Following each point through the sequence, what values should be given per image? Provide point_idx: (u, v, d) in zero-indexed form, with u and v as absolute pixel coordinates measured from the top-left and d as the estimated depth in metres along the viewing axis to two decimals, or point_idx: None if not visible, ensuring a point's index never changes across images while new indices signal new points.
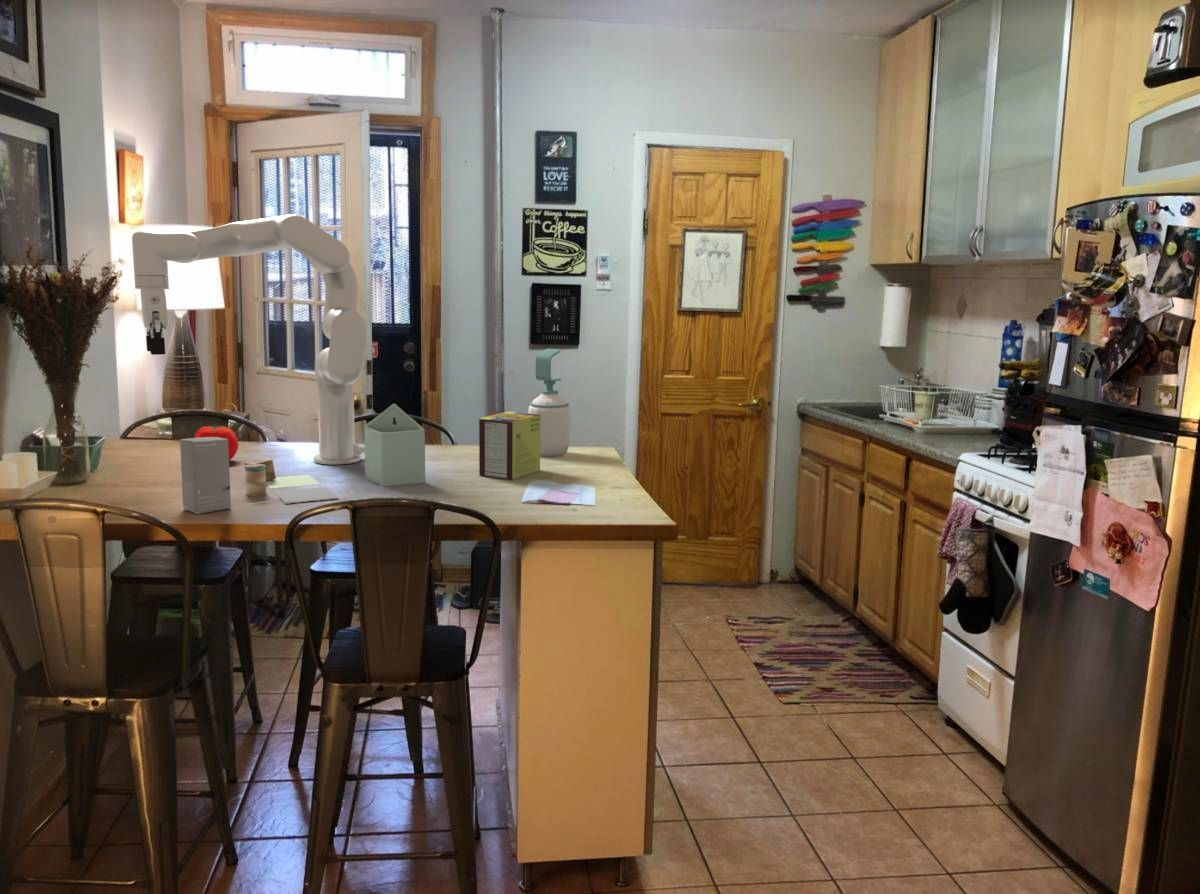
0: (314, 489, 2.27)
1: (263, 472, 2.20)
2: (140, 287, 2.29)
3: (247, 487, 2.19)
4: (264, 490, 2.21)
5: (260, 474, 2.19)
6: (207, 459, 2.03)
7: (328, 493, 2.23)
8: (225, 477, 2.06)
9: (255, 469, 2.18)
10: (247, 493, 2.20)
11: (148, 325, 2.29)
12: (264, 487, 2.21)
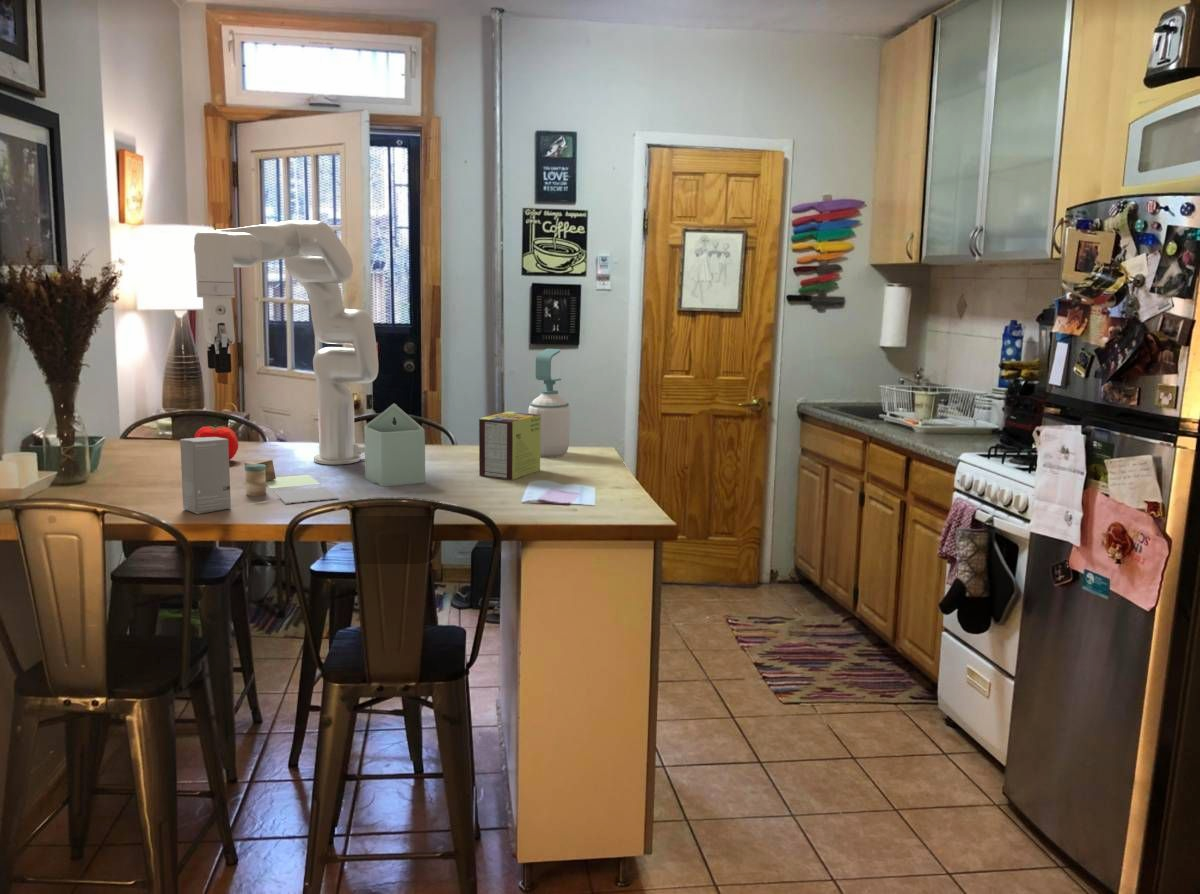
0: (314, 489, 2.27)
1: (263, 472, 2.20)
2: (203, 295, 1.99)
3: (247, 487, 2.19)
4: (264, 490, 2.21)
5: (260, 474, 2.19)
6: (207, 459, 2.03)
7: (328, 493, 2.23)
8: (225, 477, 2.06)
9: (255, 469, 2.18)
10: (247, 493, 2.20)
11: (213, 339, 1.99)
12: (264, 487, 2.21)
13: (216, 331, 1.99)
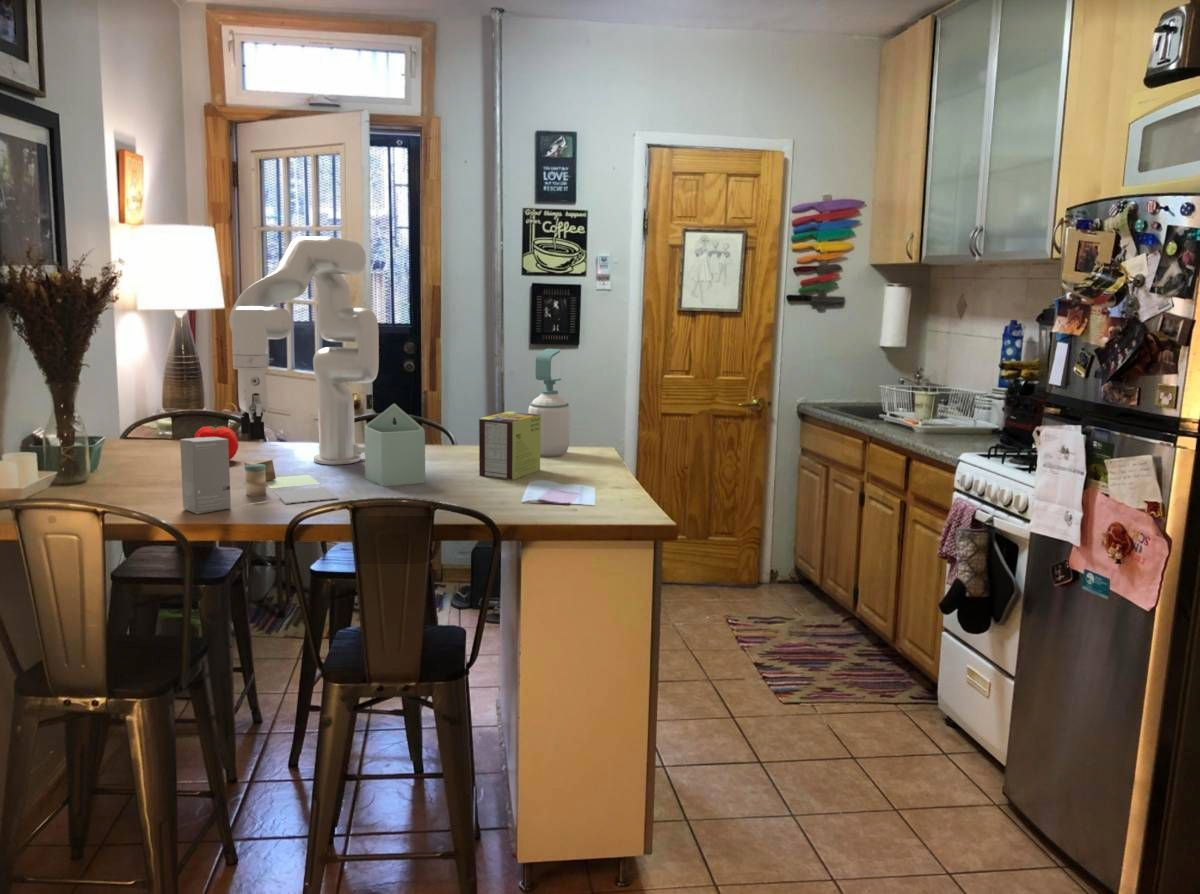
0: (314, 489, 2.27)
1: (263, 472, 2.20)
2: (239, 368, 2.12)
3: (247, 487, 2.19)
4: (264, 490, 2.21)
5: (260, 474, 2.19)
6: (207, 459, 2.03)
7: (328, 493, 2.23)
8: (225, 477, 2.06)
9: (255, 469, 2.18)
10: (247, 493, 2.20)
11: (247, 408, 2.12)
12: (264, 487, 2.21)
13: (251, 401, 2.12)
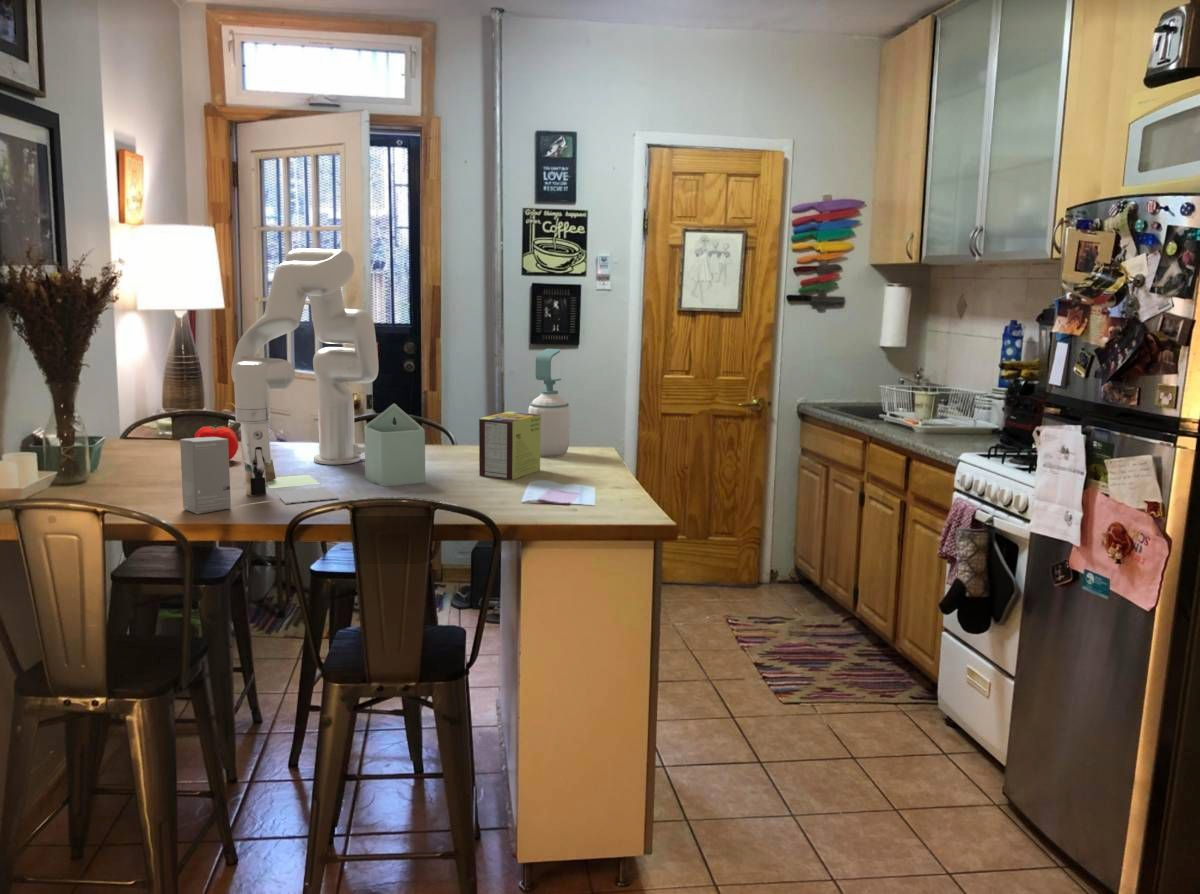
0: (314, 489, 2.27)
1: None
2: (242, 422, 2.15)
3: (247, 487, 2.19)
4: None
5: None
6: (207, 459, 2.03)
7: (328, 493, 2.23)
8: (225, 477, 2.06)
9: None
10: (247, 493, 2.20)
11: (250, 462, 2.15)
12: None
13: (254, 454, 2.15)
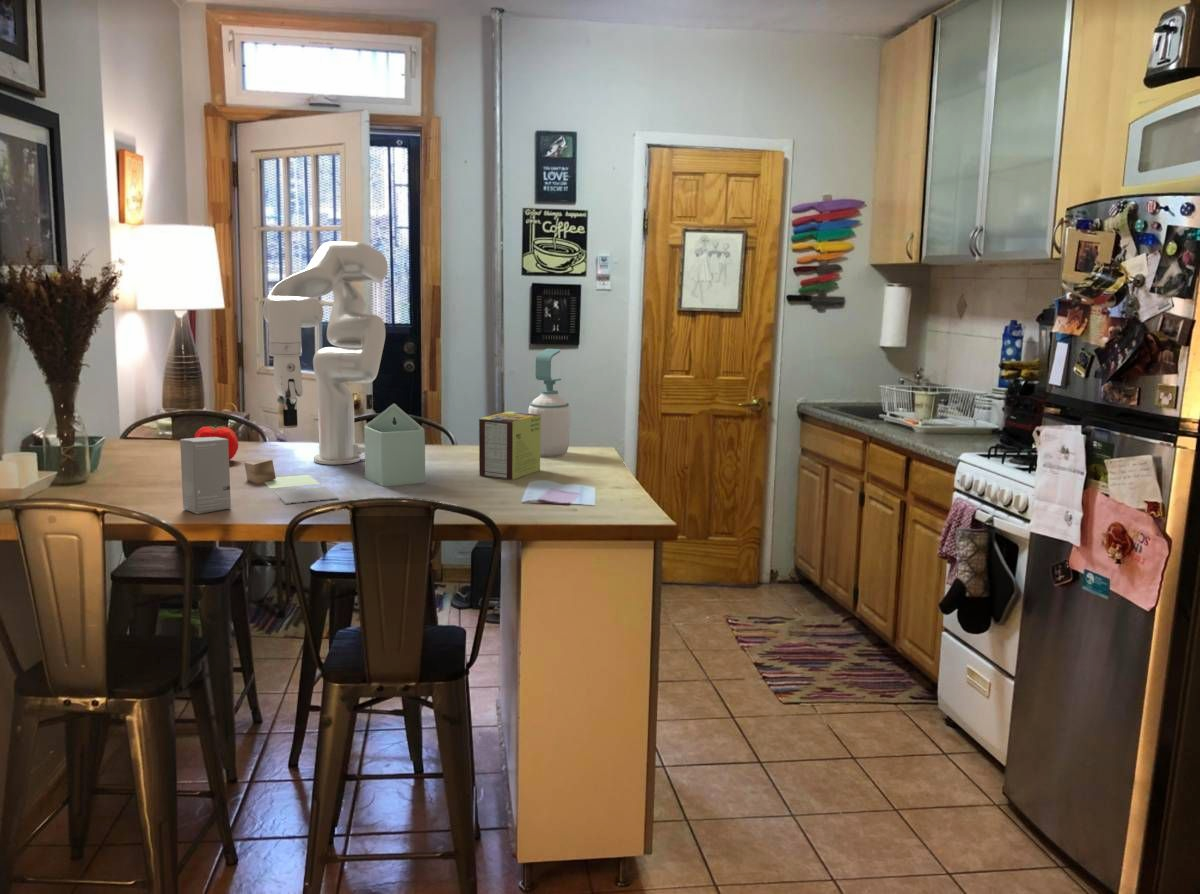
0: (314, 489, 2.27)
1: None
2: (276, 355, 2.26)
3: (280, 418, 2.30)
4: None
5: None
6: (207, 459, 2.03)
7: (328, 493, 2.23)
8: (225, 477, 2.06)
9: None
10: (280, 424, 2.31)
11: (284, 393, 2.26)
12: None
13: (287, 386, 2.26)
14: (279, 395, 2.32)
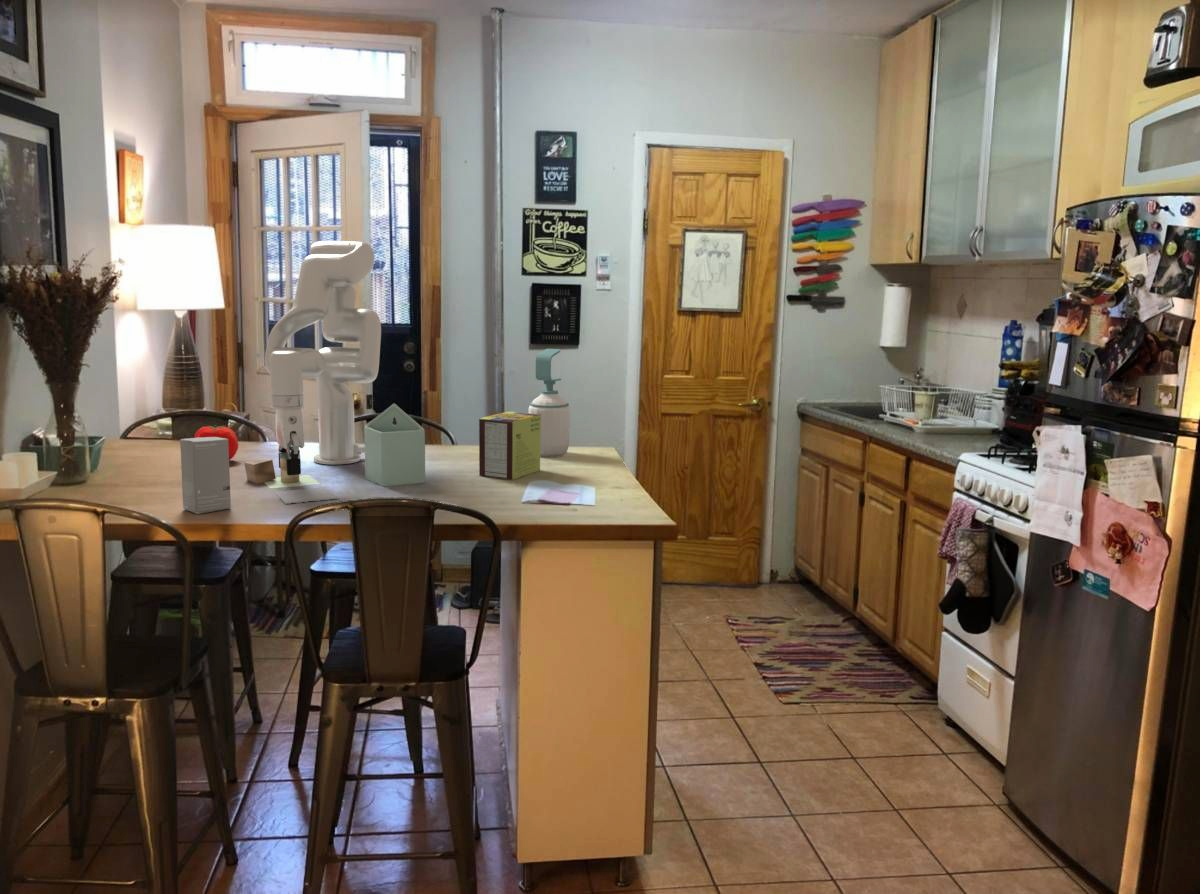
0: (314, 489, 2.27)
1: None
2: (278, 407, 2.28)
3: (282, 473, 2.33)
4: (298, 476, 2.34)
5: None
6: (207, 459, 2.03)
7: (328, 493, 2.23)
8: (225, 477, 2.06)
9: None
10: (282, 479, 2.33)
11: (285, 445, 2.28)
12: None
13: (289, 438, 2.28)
14: (280, 444, 2.35)
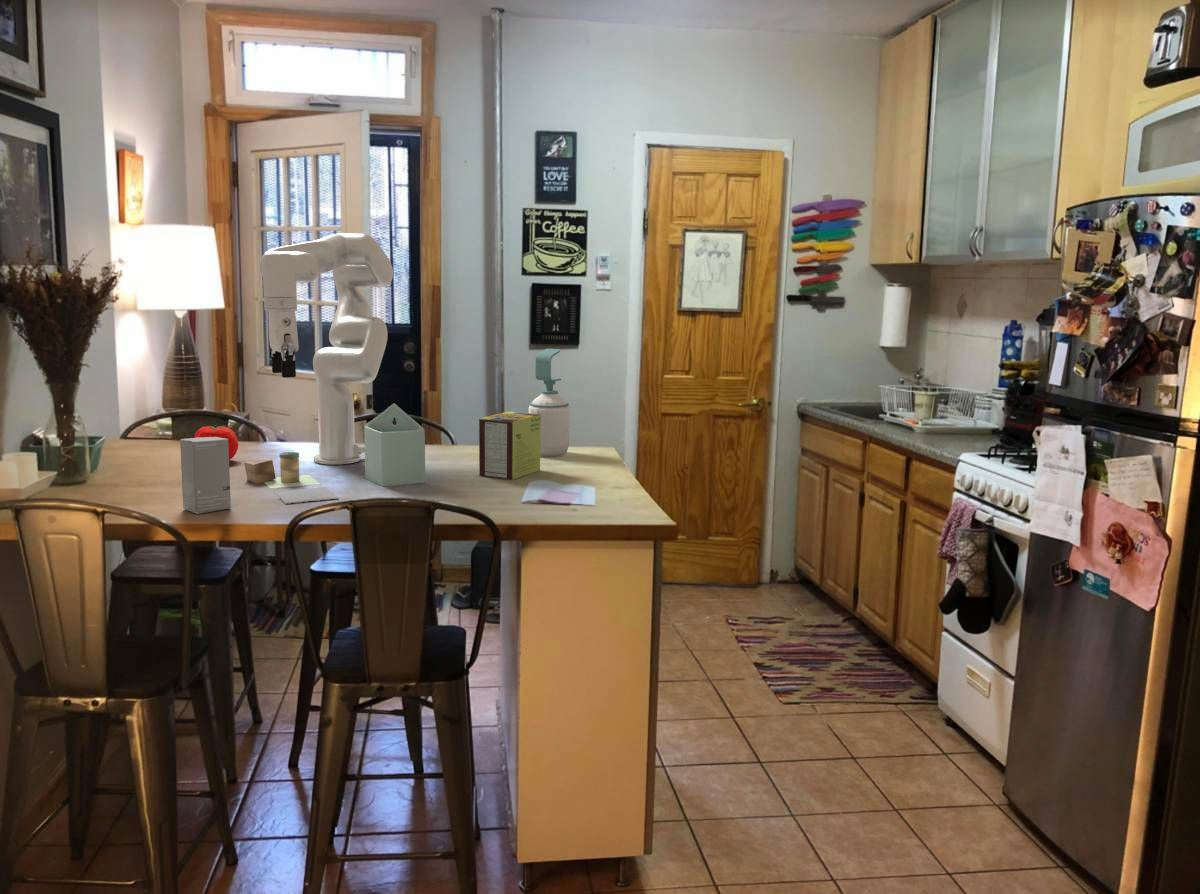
0: (314, 489, 2.27)
1: (297, 459, 2.33)
2: (271, 309, 2.25)
3: (282, 473, 2.33)
4: (298, 476, 2.34)
5: (294, 462, 2.32)
6: (207, 459, 2.03)
7: (328, 493, 2.23)
8: (225, 477, 2.06)
9: (289, 456, 2.31)
10: (282, 479, 2.33)
11: (280, 348, 2.25)
12: (298, 473, 2.34)
13: (283, 341, 2.25)
14: None
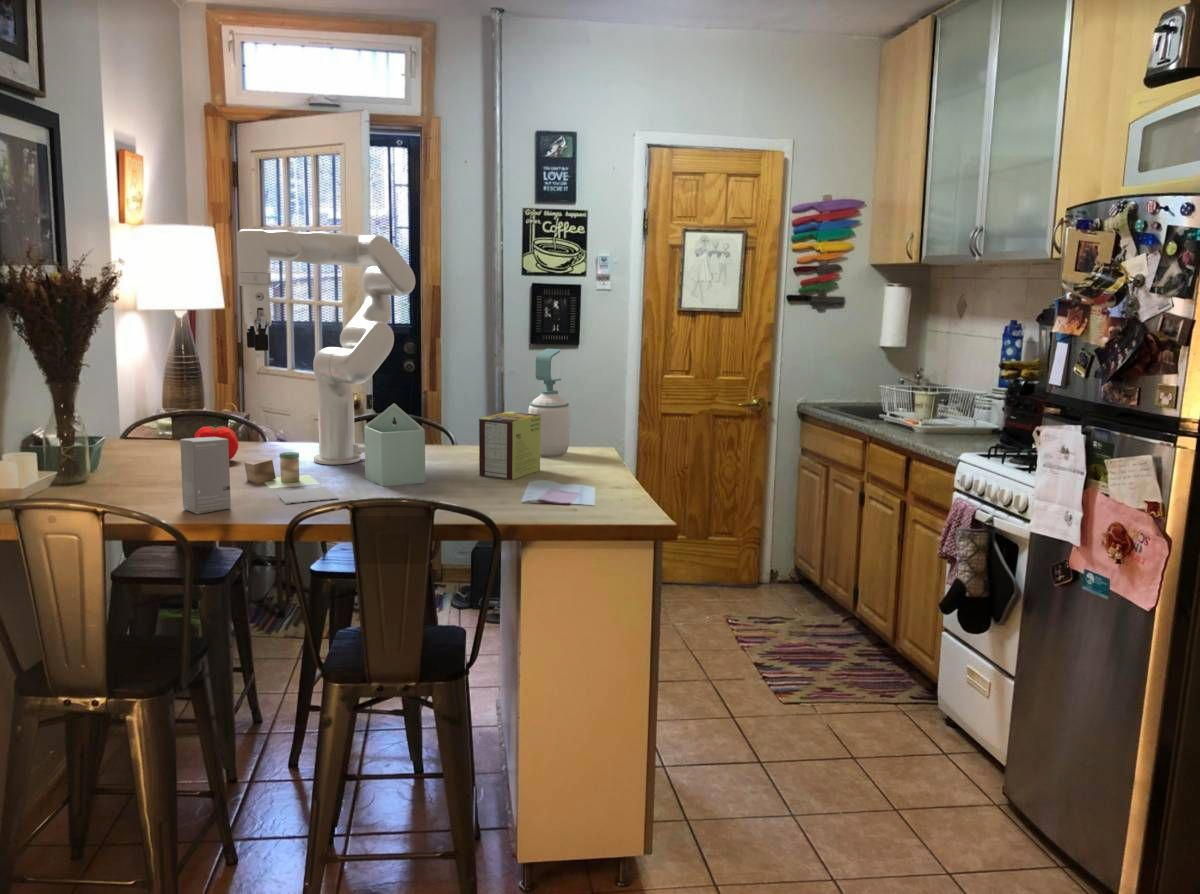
0: (314, 489, 2.27)
1: (297, 459, 2.33)
2: (245, 284, 2.32)
3: (282, 473, 2.33)
4: (298, 476, 2.34)
5: (294, 462, 2.32)
6: (207, 459, 2.03)
7: (328, 493, 2.23)
8: (225, 477, 2.06)
9: (289, 456, 2.31)
10: (282, 479, 2.33)
11: (253, 322, 2.32)
12: (298, 473, 2.34)
13: (256, 315, 2.32)
14: None
